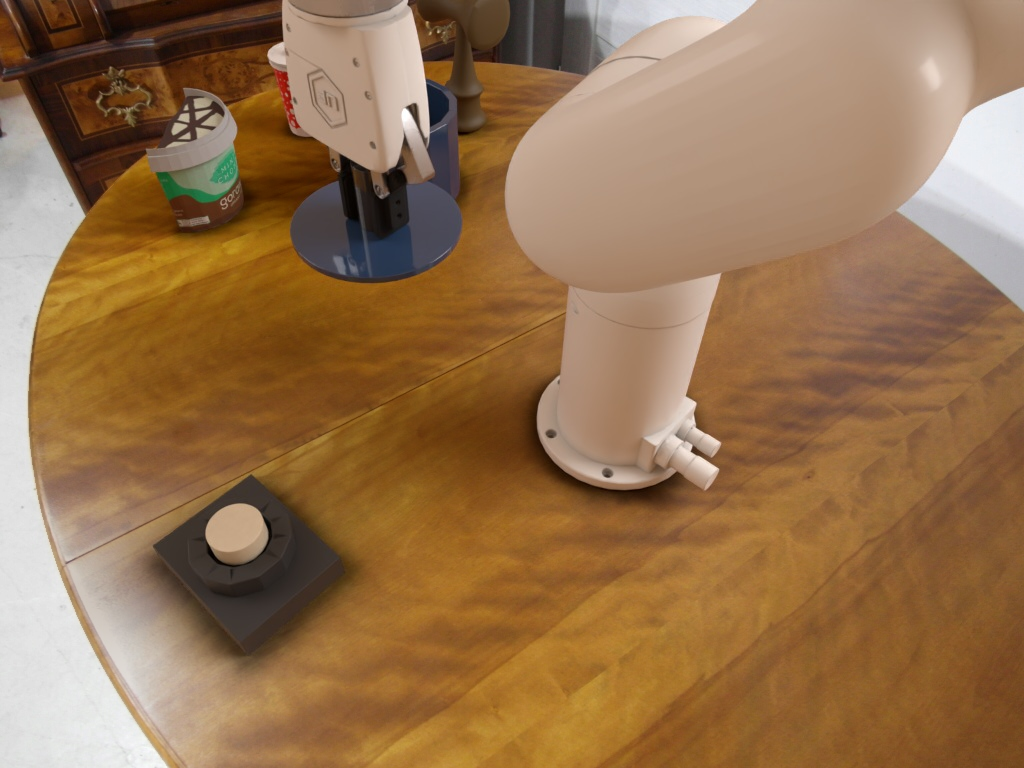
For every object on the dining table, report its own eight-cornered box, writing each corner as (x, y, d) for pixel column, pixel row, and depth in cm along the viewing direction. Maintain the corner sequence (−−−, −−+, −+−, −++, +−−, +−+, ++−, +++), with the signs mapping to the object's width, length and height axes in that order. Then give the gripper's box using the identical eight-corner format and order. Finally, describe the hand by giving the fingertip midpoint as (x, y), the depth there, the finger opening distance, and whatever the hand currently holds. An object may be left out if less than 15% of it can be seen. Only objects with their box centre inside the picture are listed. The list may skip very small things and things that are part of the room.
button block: (345, 572, 54) (336, 543, 51) (248, 656, 49) (232, 630, 46) (258, 490, 58) (245, 459, 55) (162, 561, 54) (142, 531, 51)
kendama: (473, 150, 89) (469, -36, 74) (420, 117, 94) (406, -64, 79) (511, 131, 92) (514, -51, 77) (457, 100, 96) (451, -77, 81)
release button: (280, 539, 51) (274, 525, 50) (233, 576, 49) (226, 562, 48) (247, 507, 53) (241, 493, 51) (201, 542, 51) (193, 528, 50)
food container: (239, 243, 77) (211, 154, 70) (177, 241, 77) (143, 152, 70) (267, 173, 85) (246, 86, 78) (211, 171, 85) (184, 85, 78)
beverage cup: (319, 108, 95) (298, -12, 84) (346, 128, 92) (327, 7, 81) (274, 124, 92) (246, 2, 82) (300, 146, 89) (274, 22, 79)
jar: (483, 185, 84) (482, 104, 77) (398, 238, 78) (388, 155, 71) (404, 142, 90) (397, 63, 83) (319, 188, 84) (302, 106, 76)
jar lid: (497, 231, 63) (498, 159, 58) (370, 315, 56) (359, 242, 51) (384, 166, 69) (376, 95, 64) (257, 235, 62) (237, 162, 57)
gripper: (216, -44, 49) (275, 198, 63) (389, 39, 42) (413, 290, 56) (310, -73, 53) (346, 161, 67) (483, -2, 46) (484, 243, 60)
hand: (376, 218), depth 62 cm, fingers closed on jar lid, 2 cm apart
